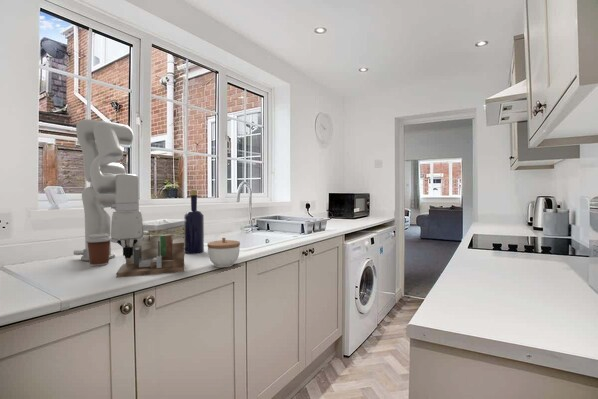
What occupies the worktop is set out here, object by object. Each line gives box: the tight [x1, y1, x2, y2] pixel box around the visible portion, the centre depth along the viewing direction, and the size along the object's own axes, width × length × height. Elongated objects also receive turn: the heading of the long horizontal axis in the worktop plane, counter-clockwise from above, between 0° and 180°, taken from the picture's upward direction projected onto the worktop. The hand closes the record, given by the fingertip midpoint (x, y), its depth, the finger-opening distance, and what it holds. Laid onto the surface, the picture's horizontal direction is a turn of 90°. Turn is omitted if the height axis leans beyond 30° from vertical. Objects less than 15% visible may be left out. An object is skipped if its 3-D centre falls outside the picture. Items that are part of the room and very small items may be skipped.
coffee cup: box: [84, 234, 111, 267], centre depth 129 cm, size 9×9×12 cm
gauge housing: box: [115, 234, 185, 278], centre depth 120 cm, size 22×15×12 cm
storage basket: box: [143, 218, 185, 247], centre depth 158 cm, size 24×16×15 cm
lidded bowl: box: [207, 237, 241, 268], centre depth 127 cm, size 13×13×11 cm
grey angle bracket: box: [134, 246, 157, 268], centre depth 118 cm, size 8×11×7 cm
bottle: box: [183, 189, 205, 255], centre depth 153 cm, size 9×9×30 cm
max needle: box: [157, 241, 162, 268], centre depth 115 cm, size 2×1×10 cm
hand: (128, 257), depth 117 cm, fingers closed
